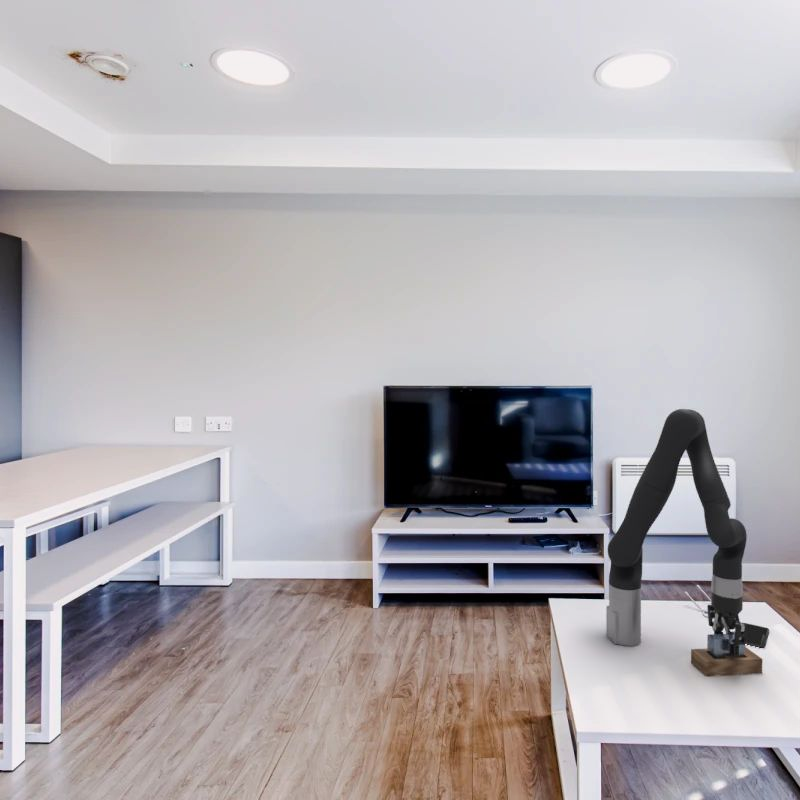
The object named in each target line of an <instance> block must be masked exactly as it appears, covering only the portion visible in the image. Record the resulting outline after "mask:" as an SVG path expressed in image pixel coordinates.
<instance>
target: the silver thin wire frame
mask: <svg viewBox="0 0 800 800" xmlns="http://www.w3.org/2000/svg"><path fill="white" fill-rule="evenodd" d="M696 588H697V589H698V590H699V591H701V592H702V594H703V595H704V596H705V597H706V598H707V599H708V601H710V602H711V598H710V596H709V595H707V594H706V592H705V591H704V590H703V589H702V587H701V586H700V585H698V584H696ZM684 594H685V595H686V596H687V597H688V598H689V599H690V600H691V602H692V603H693V604H694V605H695V606H696V607H697V608H698V609H699V610H700V611H702V613H701V616H702V617H705V618H708V608H706V609H703V608H702V607H700V605H699V604H698V603H697V602H696V601H695V600H694V599H693V598H692V597H691V596H690V594H689V593H688V591H684ZM706 613H707V614H706Z"/></svg>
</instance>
